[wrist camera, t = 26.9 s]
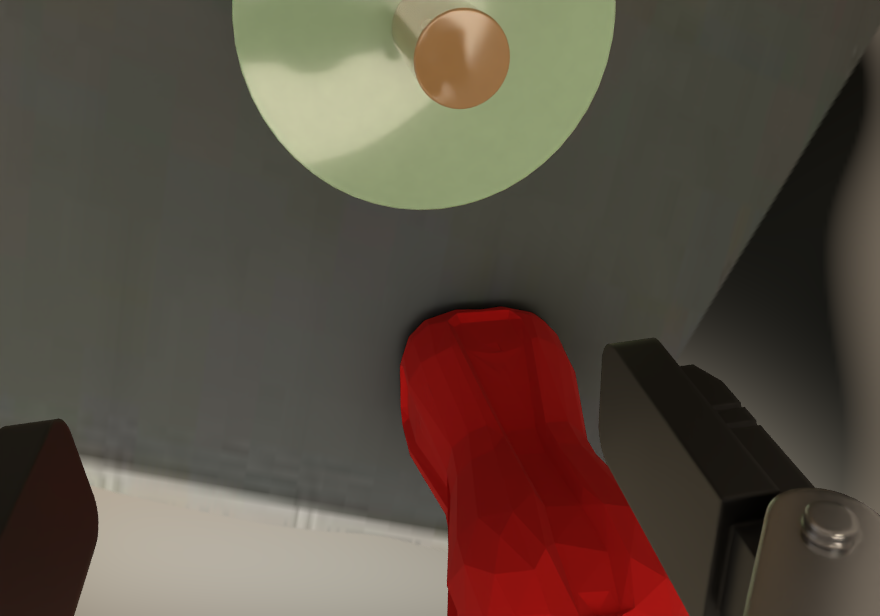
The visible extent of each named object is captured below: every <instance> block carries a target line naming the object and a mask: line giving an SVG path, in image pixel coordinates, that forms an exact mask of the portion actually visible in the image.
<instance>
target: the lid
mask: <svg viewBox="0 0 880 616" xmlns="http://www.w3.org/2000/svg"><path fill="white" fill-rule="evenodd" d="M614 21H615V0H232V23H233V31H234V40H235V47H236V51H237V55H238V59H239V63H240V68H241V72H242V74H243V77H244V80H245V82H246V85H247V87H248V90H249V93H250V95H251V97H252V99H253V101H254V103H255V105H256V107H257V109H258V111H259V112H260V114H261V116H262V118H263V120H264V121H265V123H266V124H267V125H268V127H269V128H270V130H271V131H272V133H273V134H274V135H275V137H276V138H277V140H278V141H279V142H280V143H281V144H282V145H283V146H284V147H285V148H286V150H287V151H288V152H289V153H290V154H291V155H292V156H293V157H294V158H295V159H296V160H297V161H298V162H300V163H301V164H302V165H303V166H304V167H305V168H307V169H308V170H309V171H310V172H311V173H313V174H314V175H316V176H317V177H319V178H320V179H322V180H323V181H325V182H326V183H328V184H329V185H331V186H332V187H334V188H337V189H339V190H341V191H343V192H345V193H347V194H349V195H351V196H353V197H356V198H359V199H362V200H365V201H368V202H371V203H374V204H378V205H383V206H388V207H393V208H399V209H413V210H428V209H443V208H449V207H455V206H460V205H465V204H468V203H471V202H475V201H478V200H481V199H484V198H487V197H489V196H491V195H494V194H496V193H498V192H500V191H503V190H505V189H507V188H508V187H510V186H512V185H513V184H515V183H517V182H518V181H520V180H522V179H523V178H525V177H526V176H528V175H529V174H530V173H532V172H533V171H534V170H535V169H537V168H538V167H539V166H541V165H542V164H543V163H544V162H545V161H546V160H547V159H548V158H549V157H550V156H551V155H553V154H554V153H555V152H556V151H557V150H558V149H559V148H560V147H561V145H562V144H563V143H564V142H565V140H566V139H567V138H568V137H569V136H570V134H571V133H572V132H573V131H574V129H575V128H576V126H577V125H578V123H579V122H580V120H581V119H582V117H583V115H584V114H585V112H586V111H587V109H588V107H589V105H590V103H591V101H592V99H593V97H594V95H595V93H596V91H597V89H598V87H599V84H600V81H601V78H602V76H603V73H604V70H605V67H606V64H607V61H608V56H609V52H610V48H611V43H612V39H613V30H614Z"/></svg>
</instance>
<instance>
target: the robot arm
mask: <svg viewBox="0 0 880 616" xmlns="http://www.w3.org/2000/svg"><path fill="white" fill-rule="evenodd" d="M599 437H600V443H601V448H602V452H603V455H604V458H605V461H606V463H607V465H608V467H609V469H610V471H611V473H612V474H613V476H614V478H615V480H616V482H617V484H618V485H619V487H620V489H621V491H622V493H623V495H624V496H625V498H626V500H627V502H628V504H629V506H630V507H631V509H632V511H633V513H634V515H635V517H636V518H637V520H638V522H639V524H640V526H641V528H642V530H643V531H644V533H645V535H646V537H647V539H648V541H649V542H650V544H651V546H652V548H653V550H654V552H655V553H656V555H657V557H658V559H659V561H660V563H661V564H662V566H663V568H664V570H665V572H666V574H667V575H668V577H669V579H670V581H671V583H672V585H673V586H674V588H675V590H676V592H677V594H678V596H679V597H680V599H681V601H682V603H683V605H684V607H685V609H686V610H687V612H688V614H689V616H880V515H879V514H878V513H876V512H875V511H874V510H873V509H871V508H870V507H868V506H867V505H865V504H864V503H862V502H860V501H858V500H856V499H854V498H852V497H850V496H847V495H845V494H842V493H839V492H835V491H831V490H827V489H821V488H815V487H814V486H813V485H812V484H811V483H810V481H809V480H808V479H807V478H806V477H805V476H804V475H803V473H802V472H801V471H800V470H799V469H798V468H797V467H796V465H795V464H794V463H793V462H792V461H791V460H790V459H789V457H788V456H787V455H786V454H785V453H784V452H783V451H782V449H781V448H780V447H779V446H778V445H777V444H776V442H774V440H773V439H772V438H771V437H770V436H769V434H768V433H767V432H766V431H765V430H764V429H763V428H762V426H761V425H757V423H756V420H755V419H754V417H753V416H752V415H751V414H750V413H749V412H748V410H747V409H746V408H745V407H741V403H740V402H739V400H738V399H737V398H736V397H735V396H734V394H733V393H732V392H731V391H730V390H729V389H728V387H727V386H726V385H725V384H724V383H723V382H722V381H721V380H719V379H717V378H715V377H714V376H712V375H710V374H709V373H707V372H705V371H703V370H702V369H700V368H698V367H696V366H695V365H686V366H679V365H678V364H677V363H676V361H675V360H674V359H673V358H672V356H671V355H670V354H669V353H668V351H667V350H666V349H665V348H664V346H663V345H662V344H661V343H660V342H659V341H658V340H657V339H656V338H648V339H641V340H634V341H627V342H619V343H612V344H607V345H606V346H605V348H604V351H603V355H602V371H601V390H600V408H599ZM97 537H98V512H97V506H96V501H95V498H94V495H93V493H92V490H91V487H90V484H89V481H88V479H87V476H86V473H85V470H84V468H83V465H82V462H81V459H80V457H79V454H78V451H77V448H76V446H75V443H74V440H73V437H72V435H71V432H70V430H69V428H68V426H67V424H66V423H65V422H64V421H63V420H61V419H54V420H47V421H39V422H32V423H25V424H18V425H11V426H4V427H2V428H1V429H0V616H74V614H75V611H76V608H77V604H78V601H79V598H80V594H81V591H82V588H83V585H84V582H85V579H86V575H87V572H88V569H89V565H90V562H91V559H92V556H93V553H94V549H95V546H96V542H97Z"/></svg>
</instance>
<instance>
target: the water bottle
mask: <svg viewBox="0 0 880 616" xmlns="http://www.w3.org/2000/svg"><path fill="white" fill-rule="evenodd" d="M400 392H401V415H402V423H403V429H404V433H405V437H406V441H407V445H408V449H409V453H410V456H411V458H412V459H413V461H414V463H415V464H416V466H417V468H418V469H419V471H420V473H421V474H422V476H423V478H424V479H425V481H426V483H427V484H428V486H429V488H430V489H431V491H432V493H433V494H434V496H435V498H436V499H437V501H438V503H439V504H440V506H441V508H442V509H443V511H444V512H445V514H446V519H447V524H448V570H447V587H448V611H447V612H448V613H447V616H689V614H688V612H687V610H686V609H685V607H684V605H683V603H682V601H681V599H680V597H679V596H678V594H677V592H676V590H675V588H674V586H673V585H672V583H671V581H670V579H669V577H668V575H667V574H666V572H665V570H664V568H663V566H662V564H661V563H660V561H659V559H658V557H657V555H656V553H655V552H654V550H653V548H652V546H651V544H650V542H649V541H648V539H647V537H646V535H645V533H644V531H643V530H642V528H641V526H640V524H639V522H638V520H637V518H636V517H635V515H634V513H633V511H632V509H631V507H630V506H629V504H628V502H627V500H626V498H625V496H624V495H623V493H622V491H621V489H620V487H619V485H618V484H617V482H616V480H615V478H614V476H613V474H612V473H611V471H610V469H609V467H608V466H607V465H606V464H605V463H604V462H603V461H602V460H601V459H600V458H599V457H598V456H597V455H596V454H595V452H594V450H593V449H592V447H591V445H590V444H589V442H588V440H587V436H586V430H585V425H584V419H583V414H582V408H581V402H580V397H579V391H578V386H577V380H576V375H575V371H574V369H573V367H572V365H571V363H570V361H569V359H568V357H567V355H566V353H565V351H564V349H563V346H562V344H561V342H560V340H559V338H558V336H557V334H556V333H555V332H554V331H553V330H552V329H551V328H550V327H549V326H548V325H547V324H546V323H545V322H544V321H543V320H542V319H541V318H539V317H538V316H537V315H535V314H534V313H532V312H527V311H522V310H517V309H512V308H507V307H502V306H501V307H494V308H488V309H456V310H453V311H450V312H447V313H444V314H441V315H438V316H436V317H433V318H430V319H427V320H424V321H423V323H422V324H421V325H420V326H419V327H418V328H417V329H416V330H415V331H414V332H413V333H412V334H411V335H410V336H409V338H408V341H407V344H406V347H405V350H404V354H403V357H402V360H401V364H400Z"/></svg>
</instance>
